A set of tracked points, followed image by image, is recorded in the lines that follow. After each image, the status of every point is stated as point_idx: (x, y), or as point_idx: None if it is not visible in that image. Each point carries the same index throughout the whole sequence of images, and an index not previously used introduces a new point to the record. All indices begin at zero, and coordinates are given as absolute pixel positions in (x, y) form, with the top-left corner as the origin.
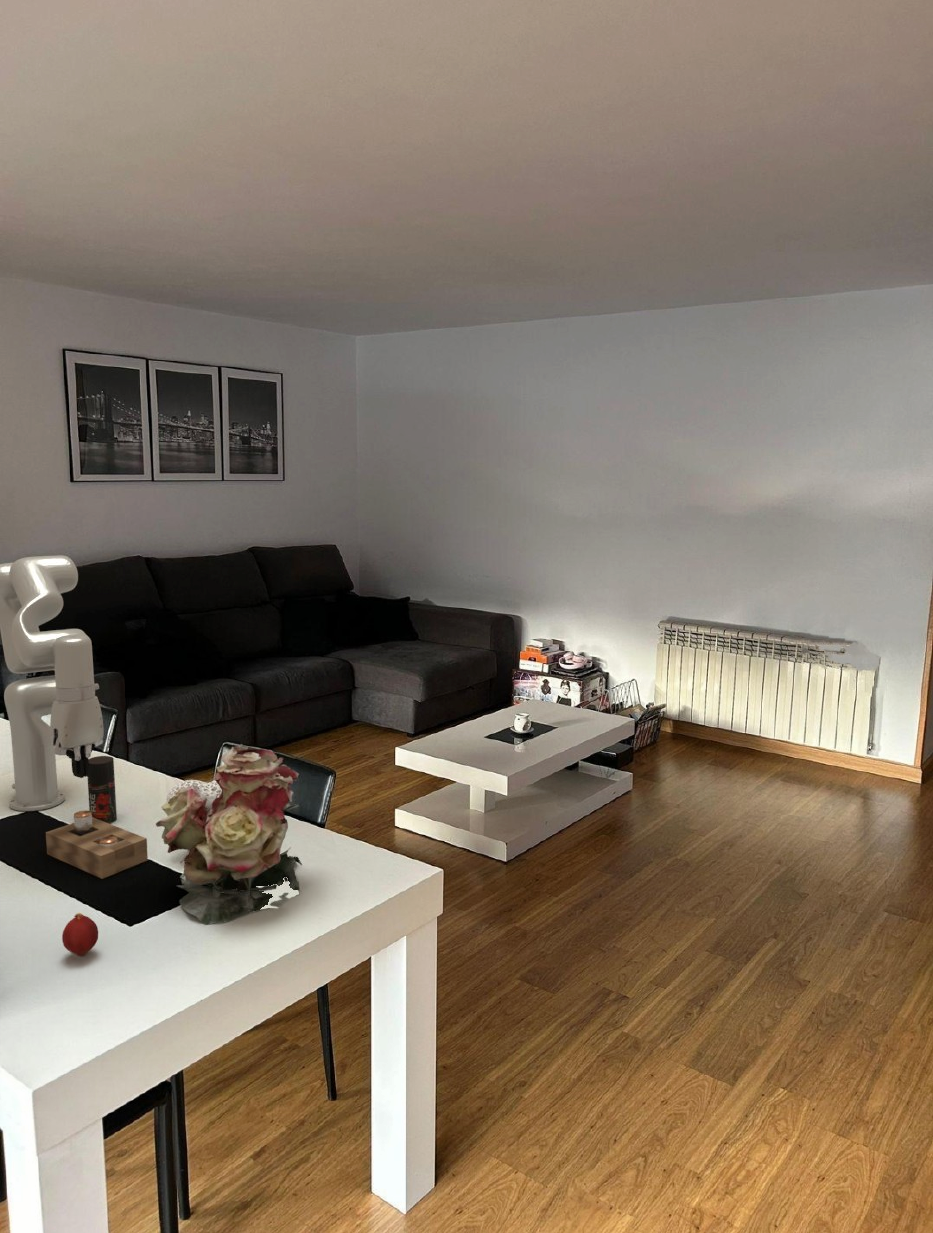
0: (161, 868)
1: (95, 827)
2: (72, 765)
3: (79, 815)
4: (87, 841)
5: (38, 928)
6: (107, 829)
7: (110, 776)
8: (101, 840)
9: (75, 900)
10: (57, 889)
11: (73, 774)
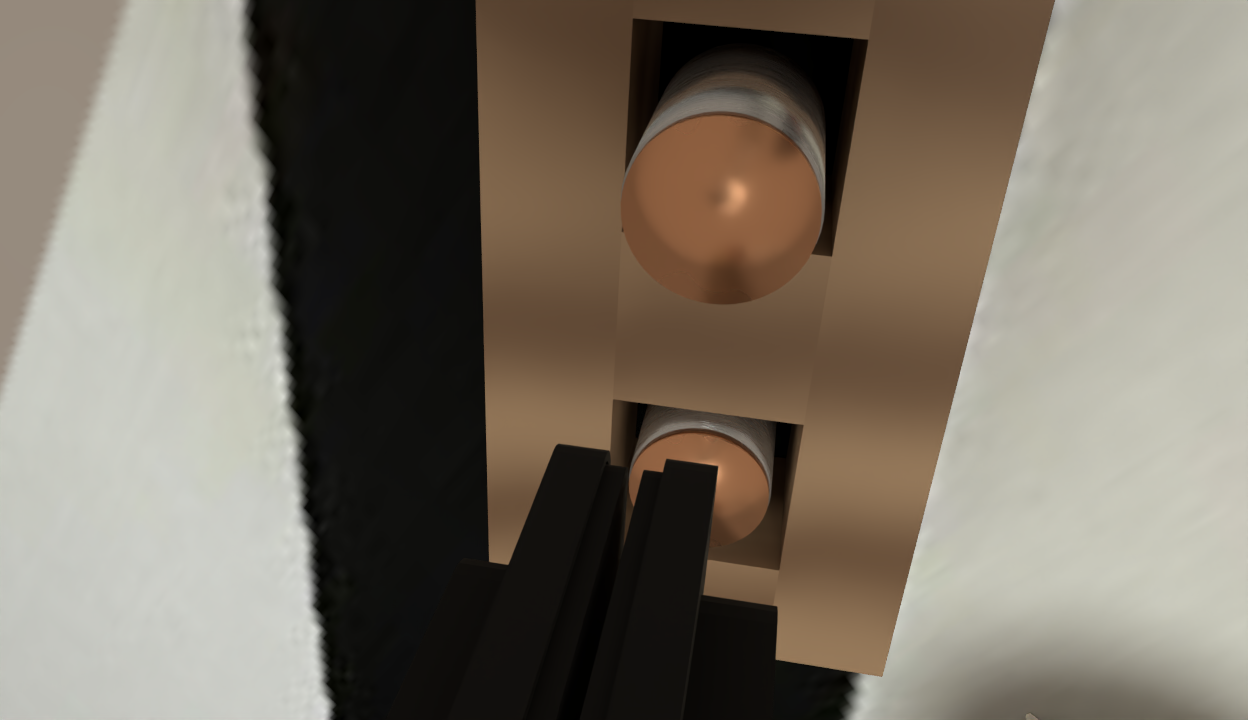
0: (824, 675)
1: (852, 183)
2: (410, 695)
3: (659, 230)
4: (589, 365)
5: (63, 601)
6: (871, 319)
7: None
8: (655, 460)
9: (298, 556)
10: (290, 392)
11: (558, 445)
